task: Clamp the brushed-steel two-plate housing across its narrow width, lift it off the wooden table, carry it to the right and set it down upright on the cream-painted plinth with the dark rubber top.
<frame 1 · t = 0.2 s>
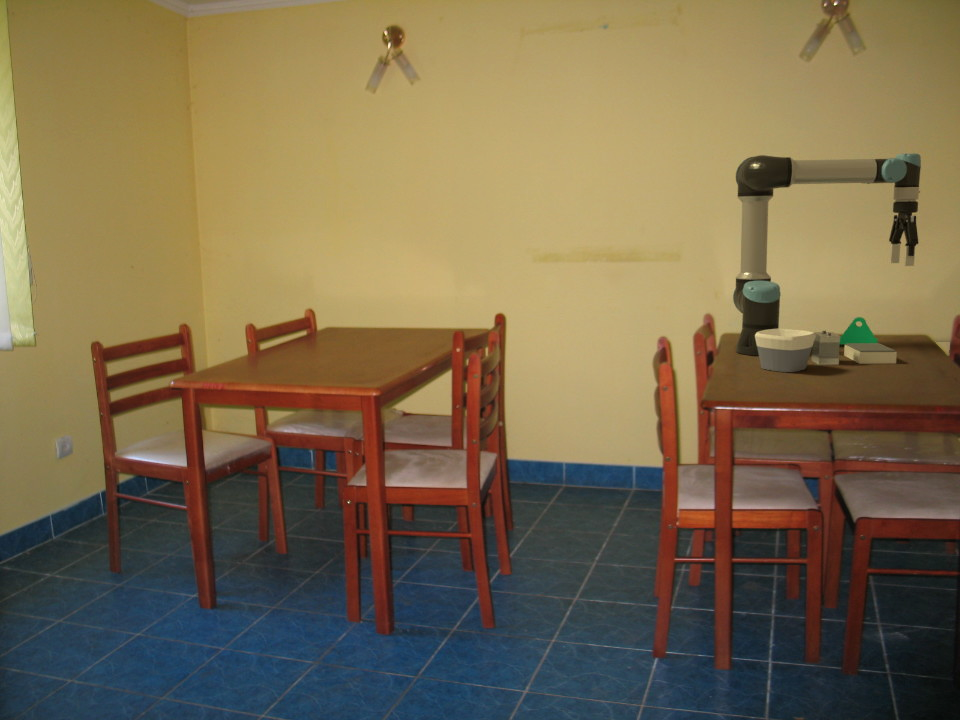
hand: (901, 264, 303), 28 cm above the table, fingers open, 13 cm apart
camera mount: (858, 347, 309), on the table
plinth: (869, 359, 283), on the table
bowl: (783, 369, 270), on the table
housing: (824, 362, 280), on the table
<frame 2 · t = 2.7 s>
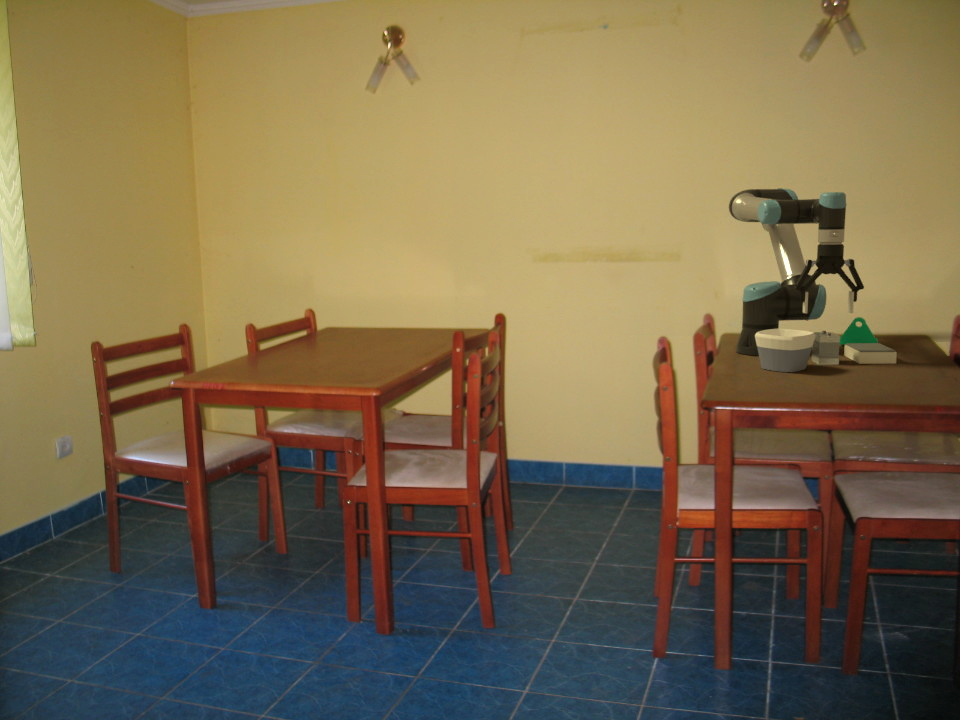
hand: (827, 312, 277), 16 cm above the table, fingers open, 13 cm apart
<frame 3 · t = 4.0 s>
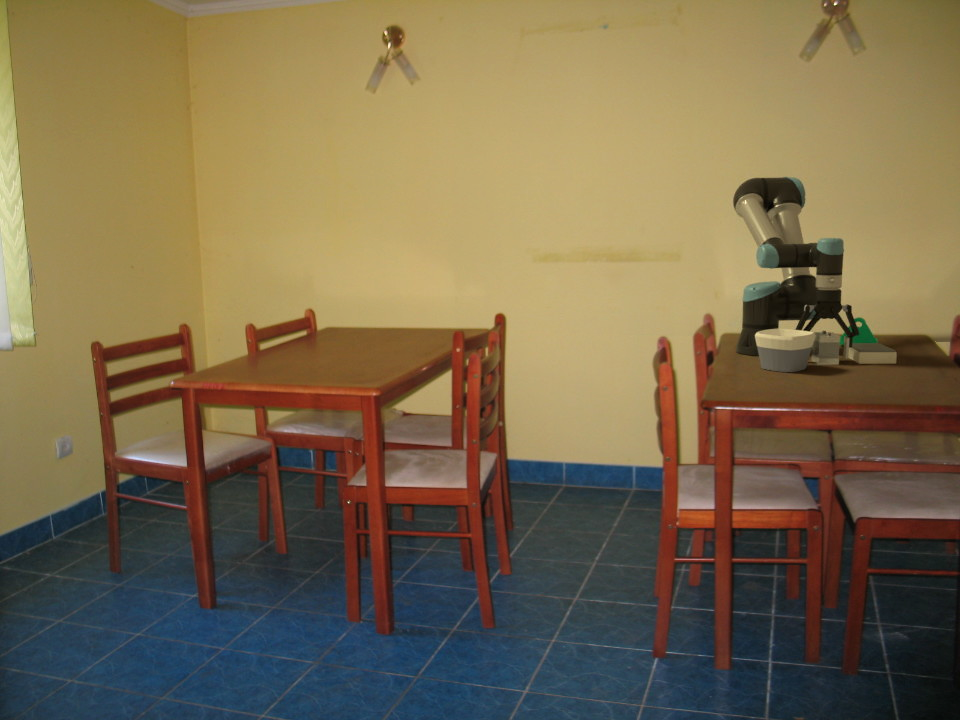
hand: (825, 358, 279), 1 cm above the table, fingers open, 12 cm apart
nothing on the table moved.
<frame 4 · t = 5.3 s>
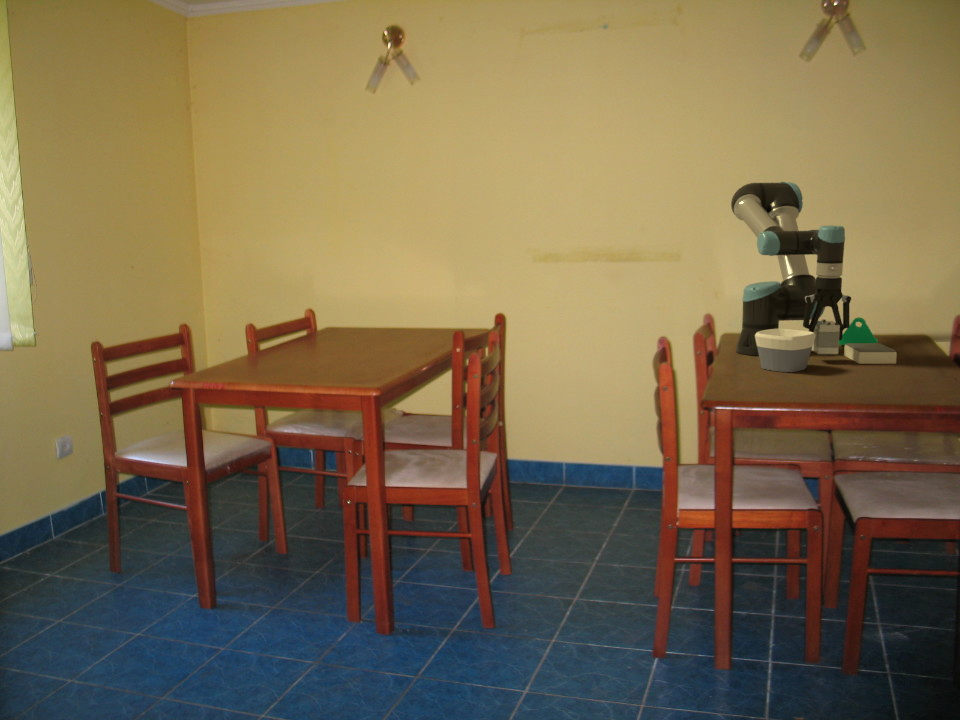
hand: (824, 350, 280), 4 cm above the table, fingers closed on housing, 6 cm apart
housing: (824, 351, 280), point 3 cm above the table, touching gripper
everything else where it was.
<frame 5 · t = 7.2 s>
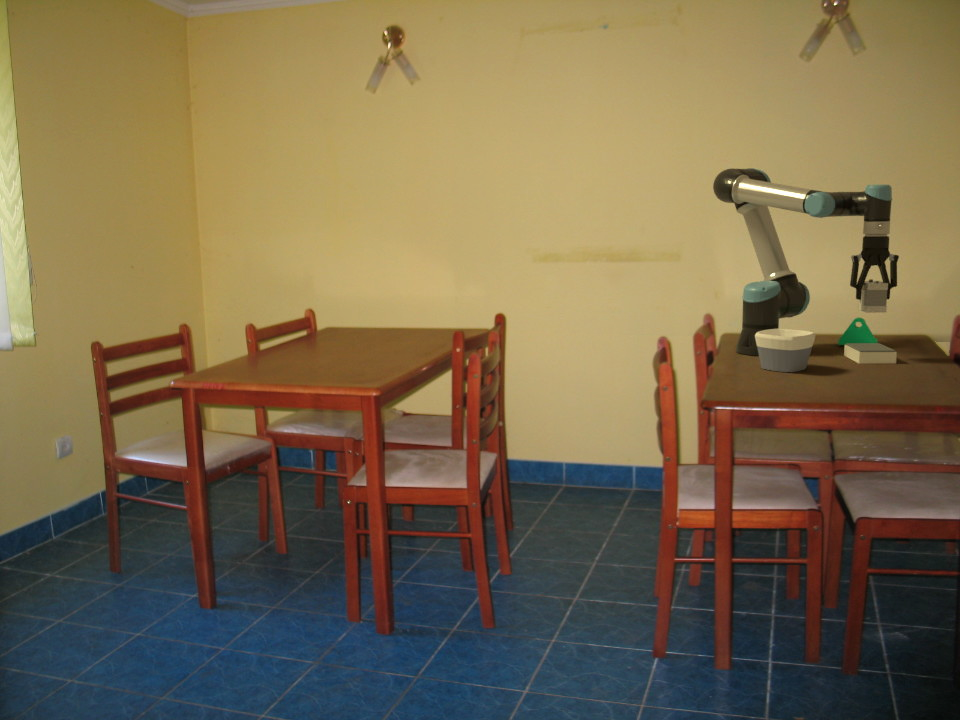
hand: (872, 309, 280), 16 cm above the table, fingers closed on housing, 6 cm apart
housing: (871, 310, 280), point 15 cm above the table, touching gripper
when the fingers open (5 cm above the table, at t = 9.5 s): housing stays where it is, resting on plinth.
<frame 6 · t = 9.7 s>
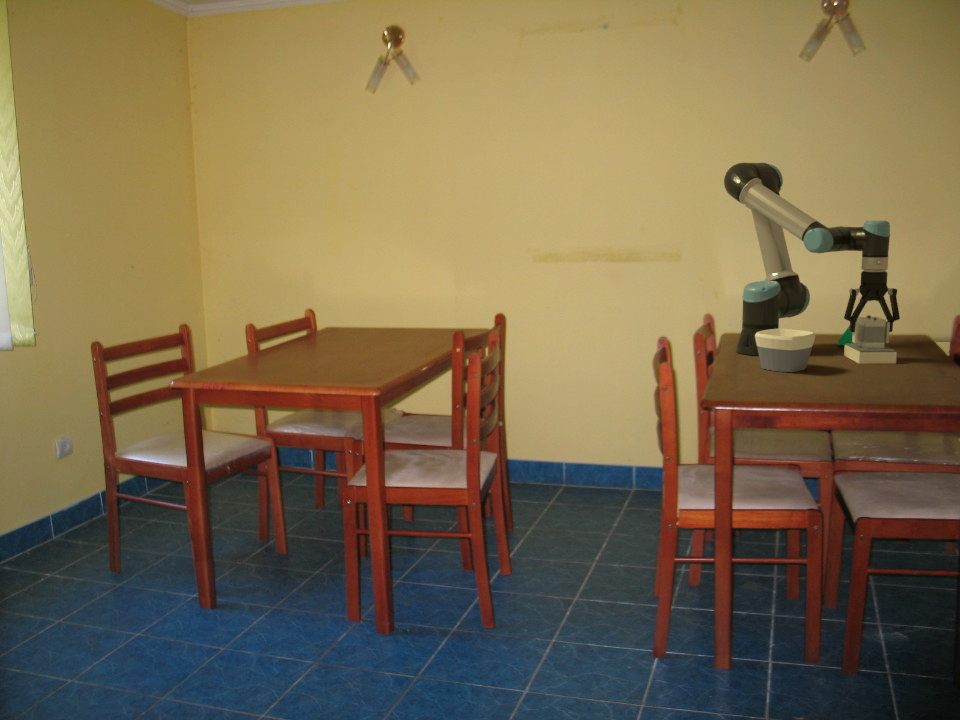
hand: (870, 342, 282), 5 cm above the table, fingers open, 9 cm apart
housing: (869, 346, 282), point 4 cm above the table, touching plinth
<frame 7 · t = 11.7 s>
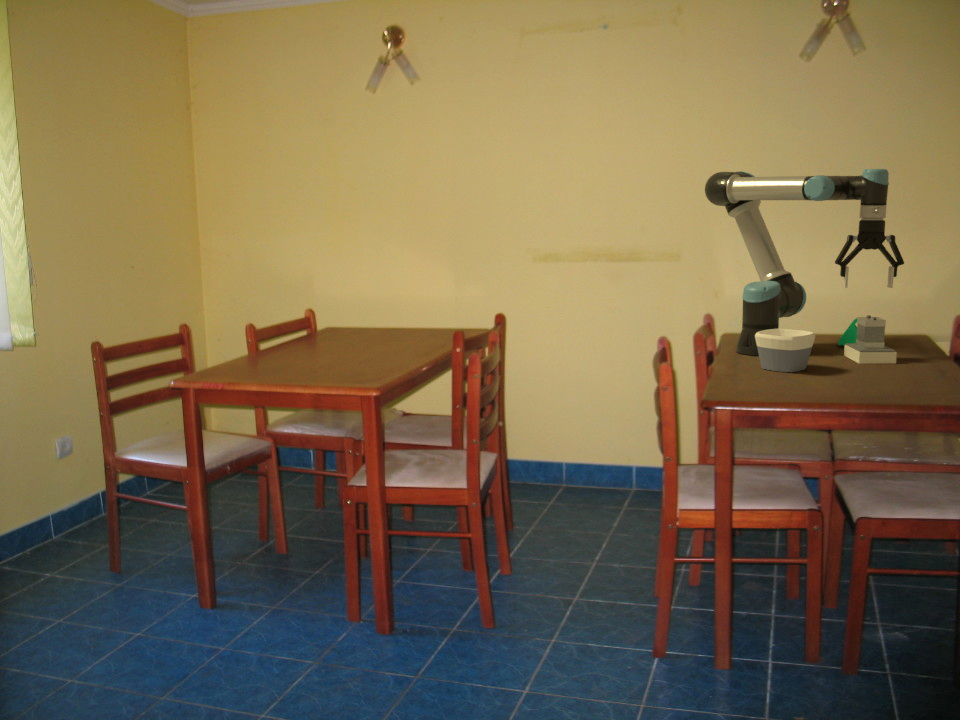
hand: (867, 287, 283), 22 cm above the table, fingers open, 13 cm apart
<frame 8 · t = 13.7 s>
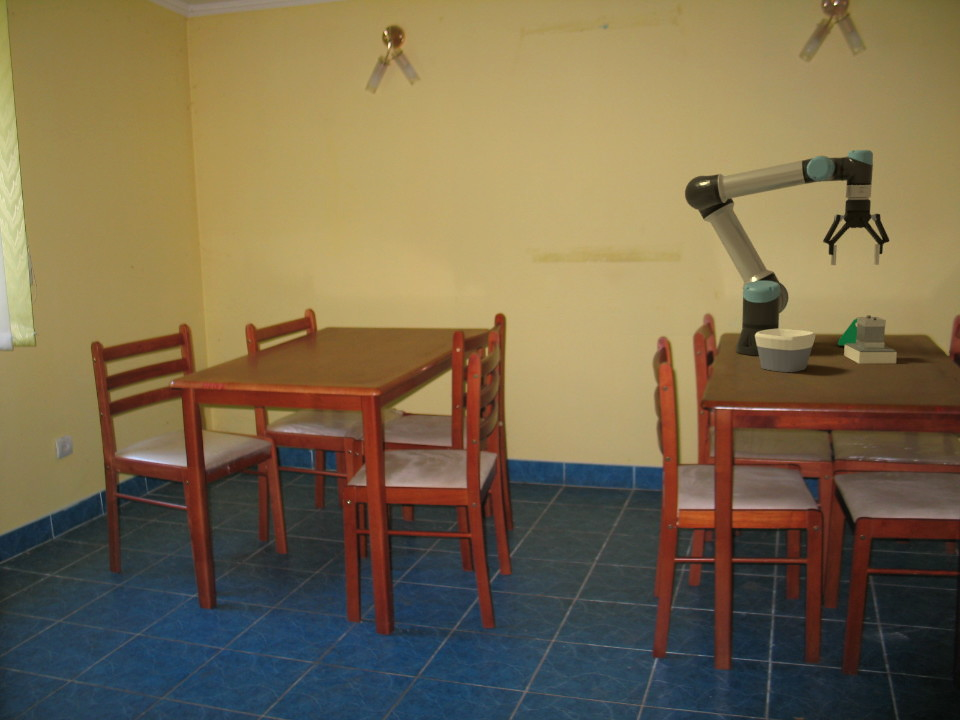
hand: (854, 264, 294), 29 cm above the table, fingers open, 13 cm apart
at the end: housing 0.1 cm from the plinth (horizontally); housing point 4.0 cm above the table; housing tilted 0° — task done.
